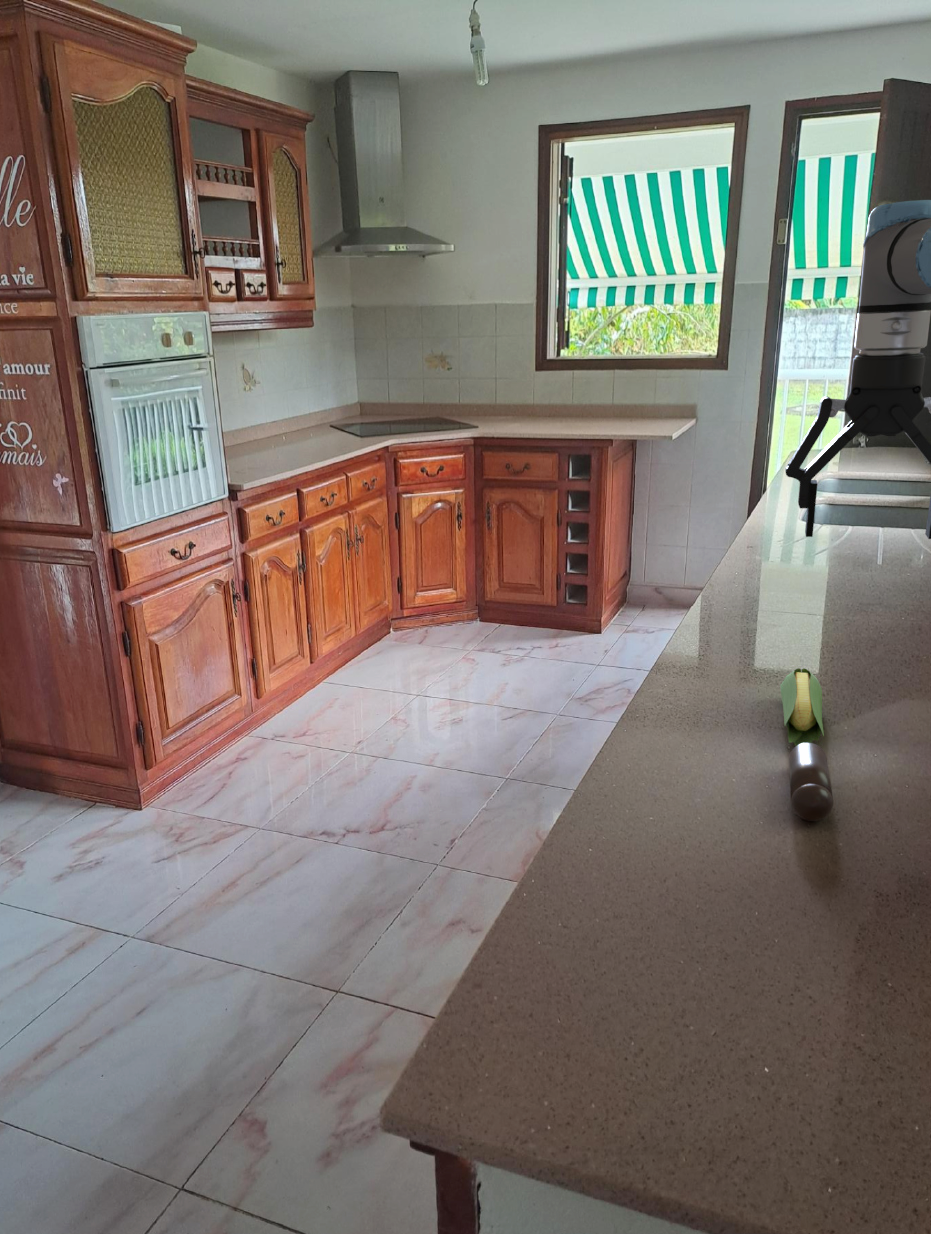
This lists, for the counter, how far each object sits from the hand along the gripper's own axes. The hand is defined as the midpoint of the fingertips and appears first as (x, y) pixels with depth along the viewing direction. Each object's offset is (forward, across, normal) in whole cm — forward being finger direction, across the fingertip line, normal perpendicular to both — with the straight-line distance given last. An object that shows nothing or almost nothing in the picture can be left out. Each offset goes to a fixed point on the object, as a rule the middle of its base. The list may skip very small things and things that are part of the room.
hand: (868, 535), depth 118 cm
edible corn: (+23, -6, -7) cm, 25 cm away
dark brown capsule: (+23, -6, -27) cm, 36 cm away
